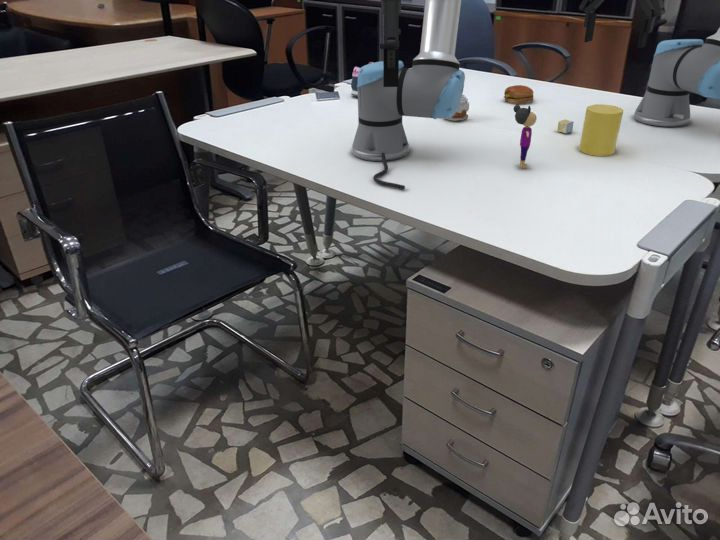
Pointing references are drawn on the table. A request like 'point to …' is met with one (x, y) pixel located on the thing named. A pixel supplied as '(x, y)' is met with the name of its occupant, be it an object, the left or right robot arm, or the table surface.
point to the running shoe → (355, 81)
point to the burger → (518, 94)
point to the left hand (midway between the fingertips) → (390, 78)
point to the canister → (600, 130)
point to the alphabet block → (565, 126)
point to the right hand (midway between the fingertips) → (613, 44)
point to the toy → (524, 130)
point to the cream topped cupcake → (461, 110)
